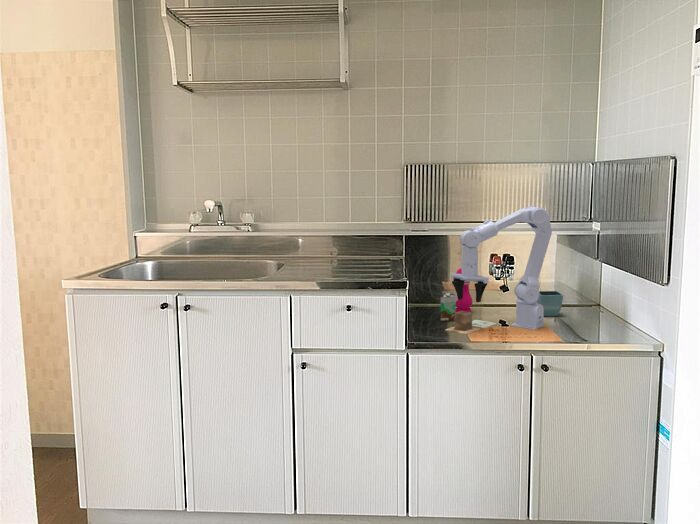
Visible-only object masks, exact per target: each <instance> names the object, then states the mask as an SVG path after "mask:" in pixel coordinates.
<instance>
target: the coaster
mask: <svg viewBox="0 0 700 524" xmlns="http://www.w3.org/2000/svg"><path fill="white" fill-rule="evenodd" d="M444 329H445V328H444ZM480 330H481V328H480V327H475V326H472V329H470V330H467V331H461V330H456V329H454V326H450V327H449V328H448V327H447V328H446V329H445V331H446V332H451V333H455V334H460V335H465V336H466V335H470V334H473V333H476V332H477V331H480Z"/></svg>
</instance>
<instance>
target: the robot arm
mask: <svg viewBox="0 0 700 524" xmlns="http://www.w3.org/2000/svg"><path fill="white" fill-rule="evenodd" d="M550 219H551V215H550V213H549V212H548V211H547V210H546V209H545V208H543V207H537V206H533V205H528V206H526V207H524V208H523V207H522V208H519V210H516V211H514V212H512V213H510V214H508V215H507V216H504V217H502V218H500V219H499V220H497V221H491V220H489V221H487V220H485V221H483V223H482V224H480V225H478V226H476V227H475V226H474V227H471V230H464V231H463V232H462V233H461V235H460V237H459V241H460V244H461V268H462V274H456V273H451V274H450V276H451V277H450V279H451V280H452V281H451V284H452V285H453V287H454V289H455V292H456V295H457V296H458V300H460V299H463V286H464V281H470V282H472V283H473V282H475V283H474V284H473V285H474V288H475V303H480V302H481V301H482V297H483V294H484V292H485V290H486V288H487V286H488V284H489V279H490V278H489V277H487V276H482V275H478V274H479V273H478V272H479V271H478V270H479V268H478V267H479V265H478V263H479V262H478V260H479V259H478V258H479V251H478V249H479V247H478V246H479V245H480V244H481V243H483V242H485V241H487V240H489V239H492V238H493V237H496V236H498V233H499V231H501V230H504V229H506V228H508V227H511V226H513V225H515V224H518V223H526V224H527V225H529V226H530V227H531V228H532V230H533V231H534V233H535V234H534V235H535V236H534V239H533V242H532V245H531V249H530V253H529V256H528V260H527V263H526V266H525V270H524V273H523V274H522V276H521V277H520V278H519V281H518V282H517V284H516V285H515V287H514V292H513V293H514V295H515V297H516V305H515V306H516V307H515V309H516V310H515V311H516V312H515V322H514V323H511V324H510V325H511V327H516V328H517V327H518V328H524V329H529V330H537V329H540V328H542V327H544V326H545V324H544V318H545V316H544V308H543V305H541V304H538V303H537V300H538V299H539V296H540V293H539V291H540V287H541V283H540V280H539V278H540V275H541V271H542V269H543V264H544V261H545V257H546V253H547V250H548V247H549V244H550V241H551V236H552V231H553V230H552V225H551V221H550Z"/></svg>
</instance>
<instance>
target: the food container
mask: <svg viewBox="0 0 700 524" xmlns="http://www.w3.org/2000/svg"><path fill="white" fill-rule="evenodd" d="M457 300H458V299H457V293H455V292H452V291H442V295H441V296H440V322H441V323H442V322H451V321H455V313H456V312H455V309H456V308H457V306H456V301H457Z"/></svg>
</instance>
